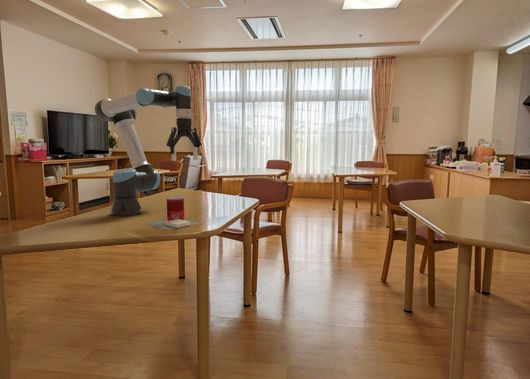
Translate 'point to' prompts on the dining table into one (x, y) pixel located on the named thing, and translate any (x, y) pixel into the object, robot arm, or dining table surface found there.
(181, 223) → the tile
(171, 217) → the canned food
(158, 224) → the slate board
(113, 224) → the dining table surface
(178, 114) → the robot arm
